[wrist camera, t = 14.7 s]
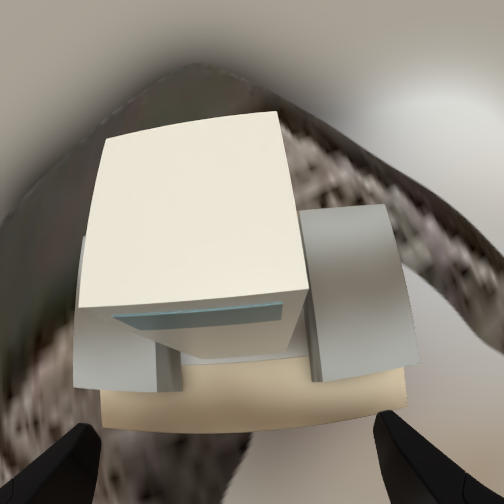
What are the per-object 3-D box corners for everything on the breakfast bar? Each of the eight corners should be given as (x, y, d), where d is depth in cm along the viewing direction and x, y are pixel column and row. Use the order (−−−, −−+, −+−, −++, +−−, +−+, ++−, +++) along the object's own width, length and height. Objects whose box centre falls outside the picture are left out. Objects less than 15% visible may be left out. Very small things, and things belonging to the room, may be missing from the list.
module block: (285, 353, 16) (309, 291, 6) (202, 360, 17) (78, 310, 6) (276, 273, 18) (276, 109, 7) (199, 281, 18) (106, 137, 7)
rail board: (401, 405, 16) (443, 409, 11) (109, 425, 16) (60, 433, 11) (366, 213, 21) (387, 165, 16) (113, 239, 22) (76, 200, 17)
